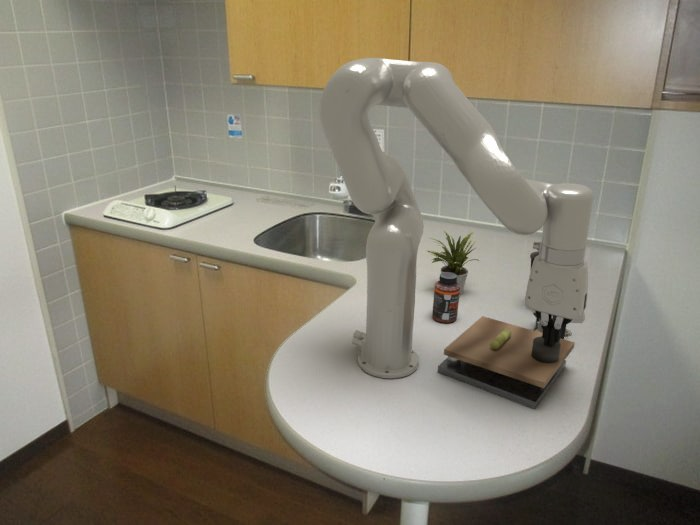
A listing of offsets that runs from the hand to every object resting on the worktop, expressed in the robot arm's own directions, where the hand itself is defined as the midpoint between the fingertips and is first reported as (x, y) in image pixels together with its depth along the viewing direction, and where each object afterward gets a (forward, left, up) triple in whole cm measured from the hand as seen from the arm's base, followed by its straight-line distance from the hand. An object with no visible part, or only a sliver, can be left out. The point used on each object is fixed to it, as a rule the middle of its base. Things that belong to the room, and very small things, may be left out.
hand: (550, 343), depth 109 cm
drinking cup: (-13, +33, -9) cm, 36 cm away
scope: (-7, +20, -9) cm, 23 cm away
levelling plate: (-8, 0, -4) cm, 9 cm away
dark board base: (-9, 0, -9) cm, 13 cm away
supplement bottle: (-29, +13, -9) cm, 33 cm away
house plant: (-35, +29, -9) cm, 46 cm away
